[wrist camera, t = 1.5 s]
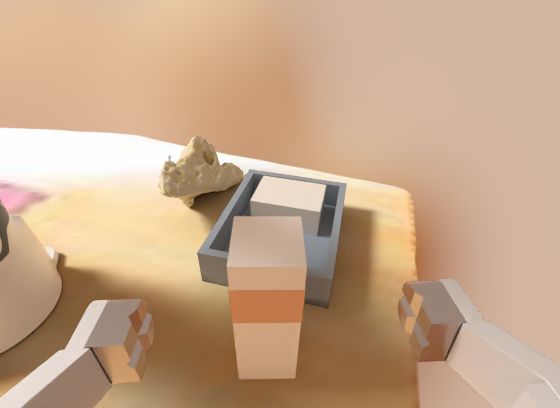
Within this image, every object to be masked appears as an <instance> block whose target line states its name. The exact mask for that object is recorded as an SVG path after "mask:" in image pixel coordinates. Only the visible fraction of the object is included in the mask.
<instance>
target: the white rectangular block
mask: <svg viewBox="0 0 560 408" xmlns="http://www.w3.org/2000/svg"><path fill="white" fill-rule="evenodd" d="M325 192H326V185H324V184H317V183H311V182H304V181H297V180H290V179H284V178H277V177H270V176H263V178H262V180H261V181H260V183H259V185H258V187H257V189H256V191H255V192H254V194H253V196H252V198H251V200H250V210H251V216H301V221H302V229H303V234H306V235H312V236H317V234H318V230H319V225H320V221H321V216H322V212H323V207H324V199H325Z"/></svg>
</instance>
